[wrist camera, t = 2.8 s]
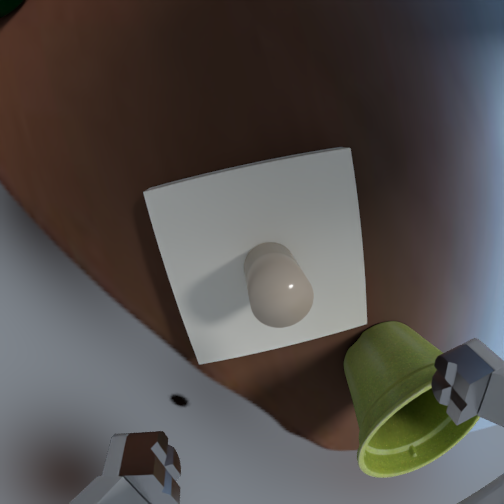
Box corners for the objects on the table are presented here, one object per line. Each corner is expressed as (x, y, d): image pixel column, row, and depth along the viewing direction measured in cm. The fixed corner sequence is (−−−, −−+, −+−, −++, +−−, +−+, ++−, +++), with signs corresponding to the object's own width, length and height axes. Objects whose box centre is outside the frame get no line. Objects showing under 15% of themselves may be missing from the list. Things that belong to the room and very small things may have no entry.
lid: (343, 147, 17) (385, 151, 12) (361, 316, 21) (393, 359, 16) (147, 189, 17) (120, 207, 12) (199, 355, 20) (196, 409, 16)
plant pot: (325, 410, 24) (356, 493, 16) (314, 320, 21) (360, 413, 13) (423, 376, 25) (471, 441, 16) (431, 284, 21) (505, 346, 13)
